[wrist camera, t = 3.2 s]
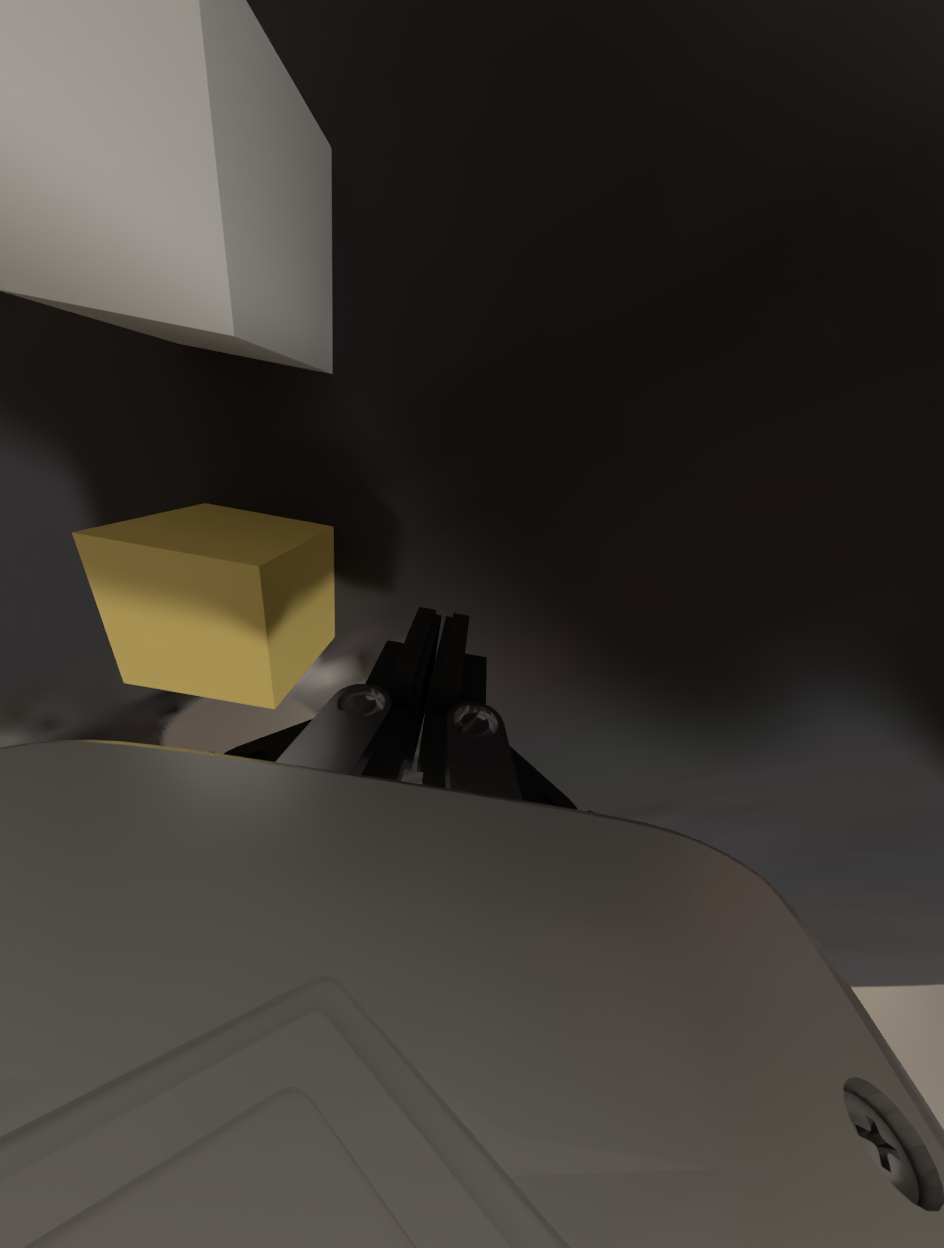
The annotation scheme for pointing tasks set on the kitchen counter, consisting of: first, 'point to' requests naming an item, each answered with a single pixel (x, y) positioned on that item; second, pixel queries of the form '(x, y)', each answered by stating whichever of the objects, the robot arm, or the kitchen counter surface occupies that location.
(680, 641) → the kitchen counter surface
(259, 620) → the mustard block
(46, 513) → the kitchen counter surface
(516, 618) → the kitchen counter surface
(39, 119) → the offwhite block
